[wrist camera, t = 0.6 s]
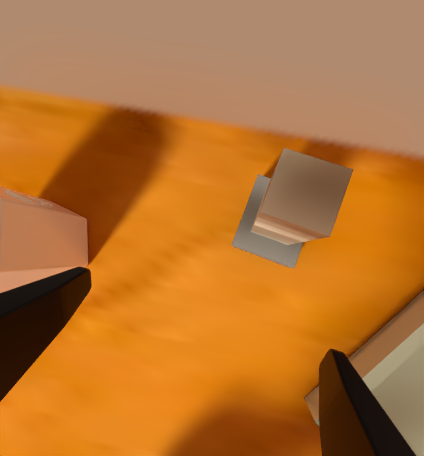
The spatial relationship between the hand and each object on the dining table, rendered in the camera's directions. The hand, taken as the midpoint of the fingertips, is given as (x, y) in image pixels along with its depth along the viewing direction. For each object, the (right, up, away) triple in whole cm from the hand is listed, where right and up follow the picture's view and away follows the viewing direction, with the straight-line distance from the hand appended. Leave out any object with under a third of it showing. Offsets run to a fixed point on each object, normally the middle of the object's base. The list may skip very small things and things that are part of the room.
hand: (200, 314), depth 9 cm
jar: (-15, +1, +16) cm, 22 cm away
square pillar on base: (+6, +3, +14) cm, 15 cm away
